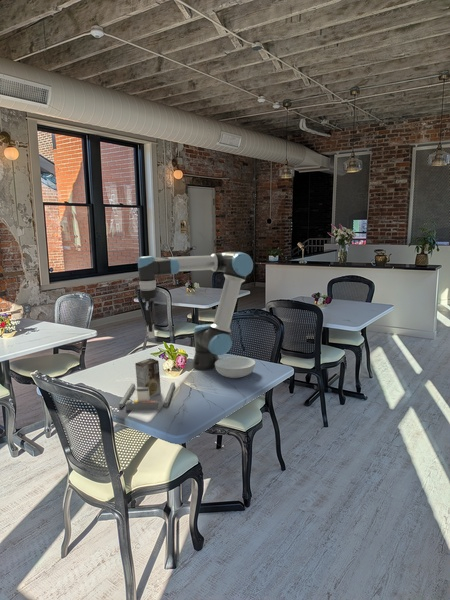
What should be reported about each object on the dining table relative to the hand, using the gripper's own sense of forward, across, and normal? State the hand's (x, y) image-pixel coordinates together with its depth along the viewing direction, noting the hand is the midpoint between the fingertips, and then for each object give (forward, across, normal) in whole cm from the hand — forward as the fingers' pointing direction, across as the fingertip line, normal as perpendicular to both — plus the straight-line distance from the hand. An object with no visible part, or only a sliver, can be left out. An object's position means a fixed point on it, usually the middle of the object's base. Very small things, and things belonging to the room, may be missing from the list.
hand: (151, 337), depth 211 cm
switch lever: (+24, +24, -1) cm, 34 cm away
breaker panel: (+24, +15, -1) cm, 28 cm away
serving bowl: (+25, -12, +39) cm, 48 cm away
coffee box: (+25, +11, -1) cm, 27 cm away
